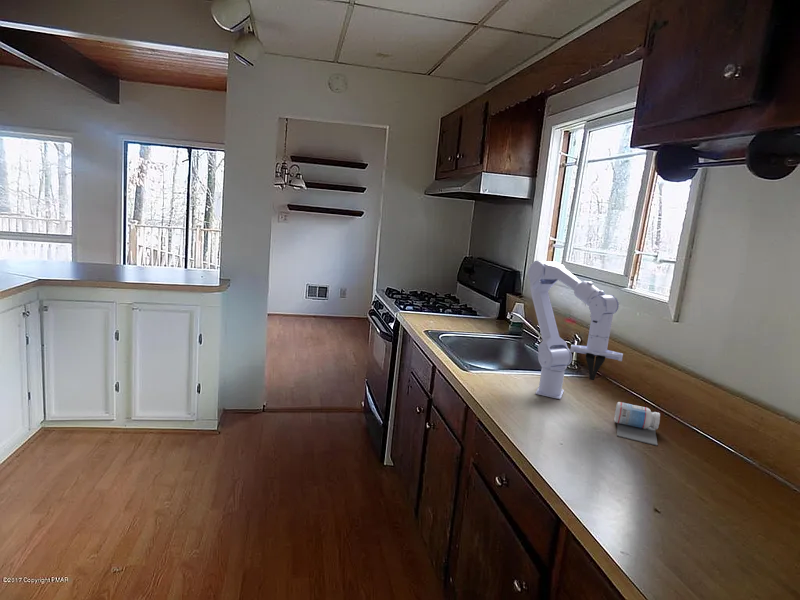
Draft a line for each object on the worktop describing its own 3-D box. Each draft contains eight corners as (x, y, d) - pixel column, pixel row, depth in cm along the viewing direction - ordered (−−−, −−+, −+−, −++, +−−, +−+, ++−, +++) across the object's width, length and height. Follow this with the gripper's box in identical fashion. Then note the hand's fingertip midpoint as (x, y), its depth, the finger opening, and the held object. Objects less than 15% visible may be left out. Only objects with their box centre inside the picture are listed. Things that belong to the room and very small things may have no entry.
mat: (617, 411, 158) (618, 410, 157) (653, 419, 154) (653, 418, 154) (617, 436, 139) (617, 435, 139) (657, 445, 136) (657, 444, 136)
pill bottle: (613, 425, 149) (655, 435, 145) (616, 415, 144) (660, 425, 140) (615, 408, 152) (656, 417, 148) (618, 397, 148) (661, 406, 144)
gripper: (572, 333, 150) (565, 377, 152) (625, 342, 145) (617, 388, 147) (574, 329, 156) (567, 371, 159) (625, 337, 151) (617, 381, 153)
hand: (591, 379), depth 153 cm, fingers closed
